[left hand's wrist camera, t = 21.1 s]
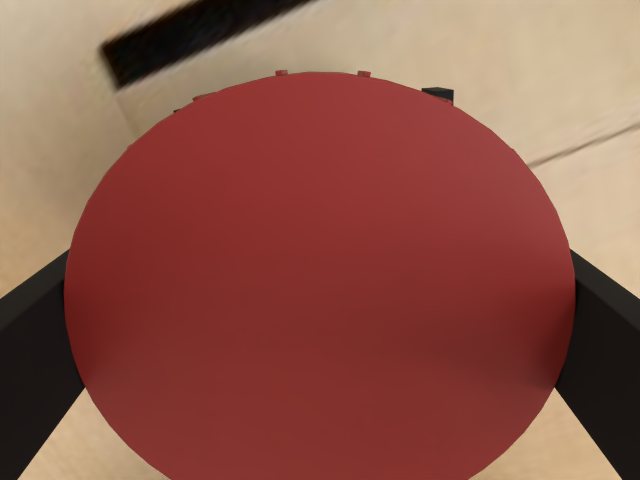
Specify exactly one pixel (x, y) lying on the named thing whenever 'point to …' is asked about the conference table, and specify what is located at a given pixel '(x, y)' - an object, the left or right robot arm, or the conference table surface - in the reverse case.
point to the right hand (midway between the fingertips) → (312, 98)
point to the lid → (319, 287)
